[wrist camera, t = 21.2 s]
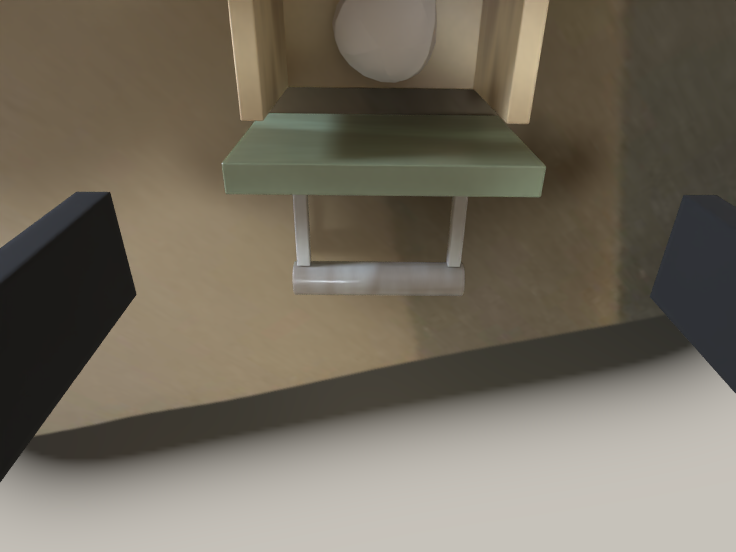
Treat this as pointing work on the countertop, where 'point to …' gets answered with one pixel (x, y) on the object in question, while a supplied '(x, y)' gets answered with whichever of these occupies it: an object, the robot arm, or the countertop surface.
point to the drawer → (384, 128)
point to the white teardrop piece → (386, 36)
